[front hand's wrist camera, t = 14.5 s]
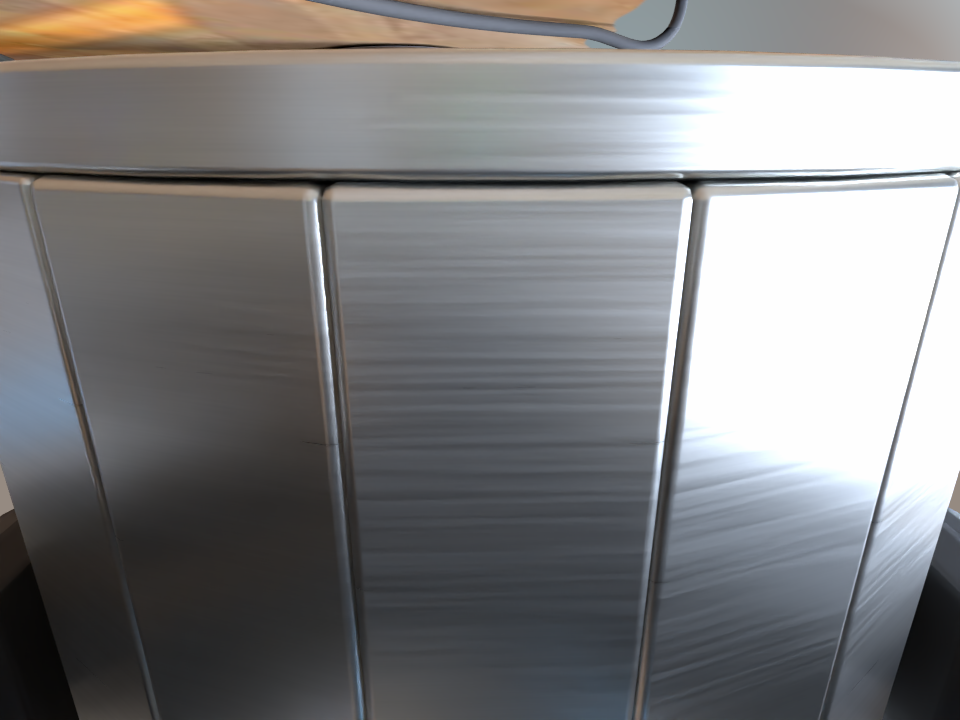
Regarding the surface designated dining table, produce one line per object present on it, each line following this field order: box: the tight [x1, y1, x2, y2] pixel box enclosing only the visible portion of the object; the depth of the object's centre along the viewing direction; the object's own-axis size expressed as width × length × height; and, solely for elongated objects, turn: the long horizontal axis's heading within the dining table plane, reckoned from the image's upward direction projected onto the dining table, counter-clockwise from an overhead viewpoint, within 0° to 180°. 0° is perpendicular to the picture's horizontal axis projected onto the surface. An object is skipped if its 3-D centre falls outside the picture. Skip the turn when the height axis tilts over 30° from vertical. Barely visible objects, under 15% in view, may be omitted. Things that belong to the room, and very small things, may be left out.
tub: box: [0, 48, 960, 720], centre depth 10 cm, size 11×11×11 cm
